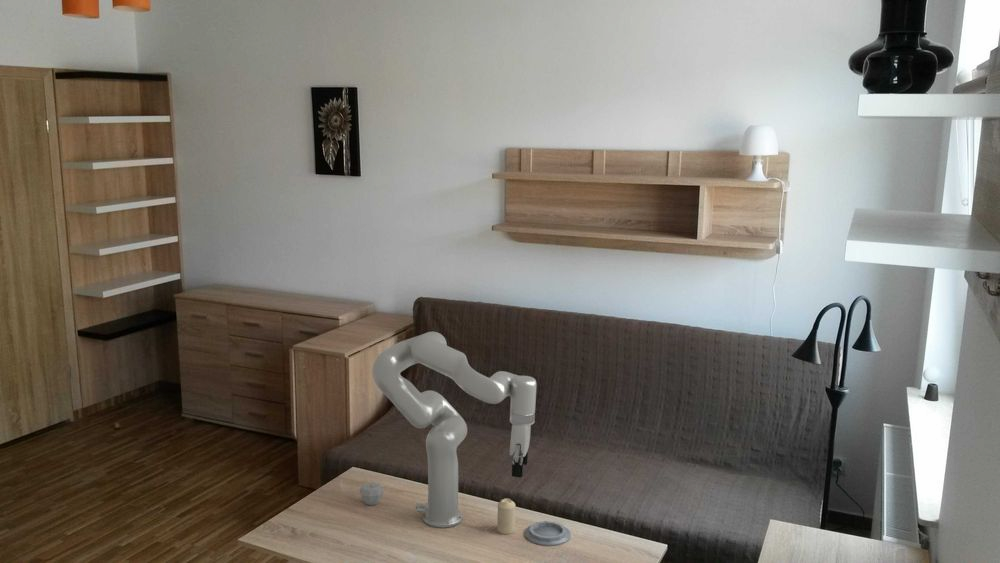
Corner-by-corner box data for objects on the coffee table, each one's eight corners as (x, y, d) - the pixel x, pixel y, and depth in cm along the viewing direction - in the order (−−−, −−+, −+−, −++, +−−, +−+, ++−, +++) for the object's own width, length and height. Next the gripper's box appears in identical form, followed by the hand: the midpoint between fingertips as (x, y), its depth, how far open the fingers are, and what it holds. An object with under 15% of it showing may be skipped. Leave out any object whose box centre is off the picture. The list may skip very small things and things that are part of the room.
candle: (513, 535, 254) (513, 504, 252) (495, 533, 255) (496, 503, 253) (516, 527, 259) (517, 497, 257) (499, 525, 260) (499, 495, 258)
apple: (381, 508, 270) (381, 489, 269) (357, 508, 270) (357, 489, 269) (385, 498, 278) (385, 479, 277) (361, 497, 278) (361, 479, 277)
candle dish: (521, 543, 249) (521, 537, 249) (528, 522, 263) (528, 516, 262) (567, 548, 246) (568, 542, 246) (572, 526, 260) (572, 521, 260)
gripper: (514, 406, 259) (512, 458, 262) (505, 425, 242) (502, 480, 246) (538, 409, 258) (535, 460, 261) (530, 428, 241) (527, 483, 244)
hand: (519, 470), depth 253 cm, fingers open, 9 cm apart
